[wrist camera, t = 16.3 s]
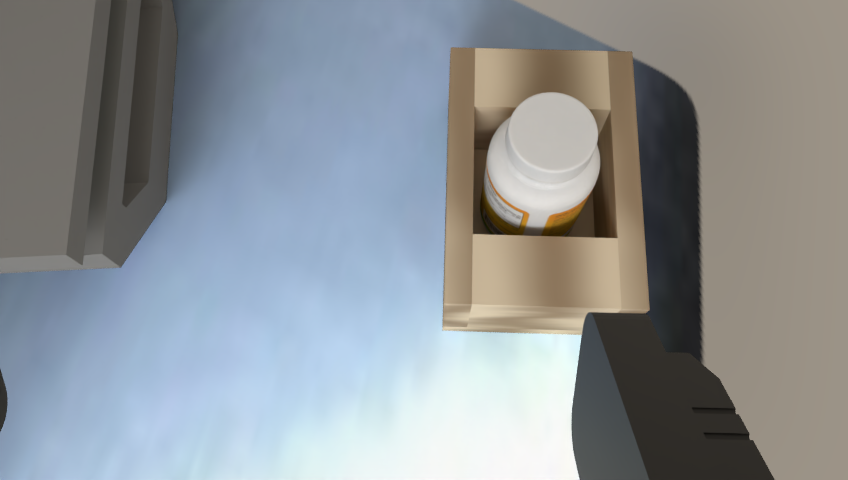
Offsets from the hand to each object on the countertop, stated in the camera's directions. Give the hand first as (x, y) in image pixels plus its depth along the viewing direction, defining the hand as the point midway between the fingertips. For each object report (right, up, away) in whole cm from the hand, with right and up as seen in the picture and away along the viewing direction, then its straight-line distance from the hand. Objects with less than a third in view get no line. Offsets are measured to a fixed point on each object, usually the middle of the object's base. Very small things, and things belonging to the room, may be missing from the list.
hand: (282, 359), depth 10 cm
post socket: (+8, +3, +33) cm, 34 cm away
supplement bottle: (+8, +3, +32) cm, 33 cm away
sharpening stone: (-17, +9, +35) cm, 40 cm away
